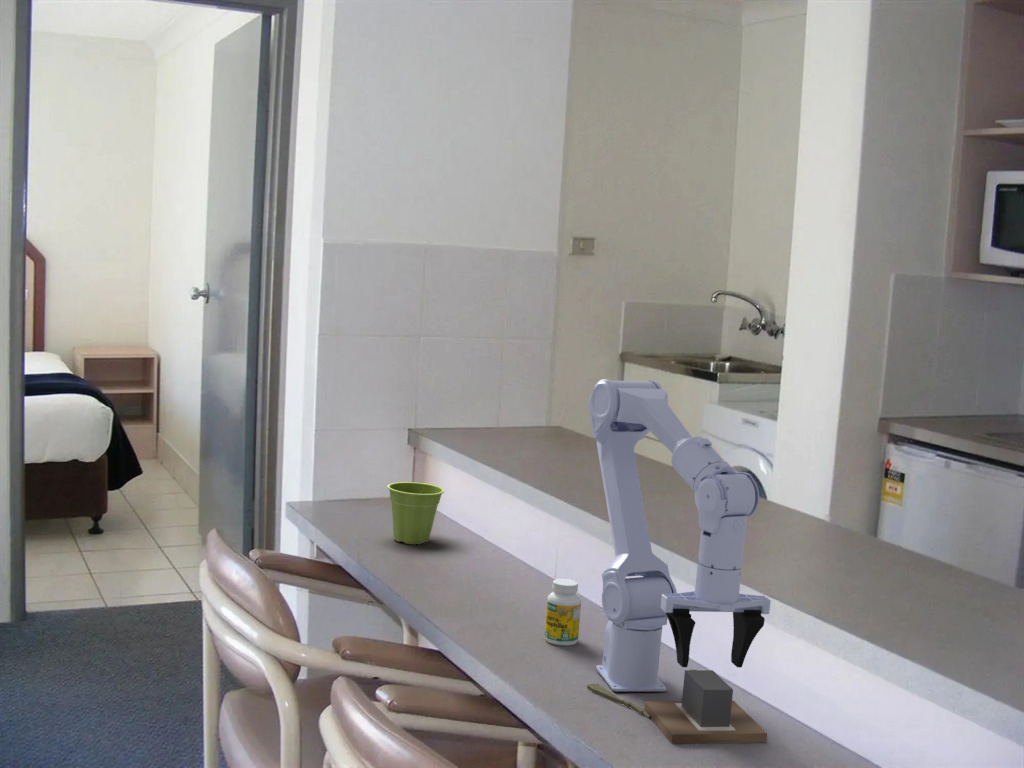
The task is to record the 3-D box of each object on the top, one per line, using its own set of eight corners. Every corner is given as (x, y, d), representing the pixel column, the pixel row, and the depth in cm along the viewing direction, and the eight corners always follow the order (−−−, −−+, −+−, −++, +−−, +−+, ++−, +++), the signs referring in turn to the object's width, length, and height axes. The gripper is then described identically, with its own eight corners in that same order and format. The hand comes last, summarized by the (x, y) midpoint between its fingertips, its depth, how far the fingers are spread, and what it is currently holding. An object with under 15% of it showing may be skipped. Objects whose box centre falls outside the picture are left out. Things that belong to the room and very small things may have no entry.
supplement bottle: (583, 640, 185) (588, 582, 184) (568, 649, 180) (573, 589, 179) (553, 633, 188) (558, 575, 187) (537, 641, 183) (542, 582, 182)
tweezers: (585, 690, 164) (585, 684, 164) (596, 688, 165) (596, 682, 165) (643, 722, 154) (644, 715, 154) (654, 720, 155) (655, 713, 155)
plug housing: (676, 700, 159) (679, 665, 158) (703, 700, 159) (707, 665, 159) (700, 727, 150) (704, 689, 149) (729, 726, 151) (733, 689, 150)
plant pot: (404, 550, 232) (408, 495, 231) (372, 536, 242) (376, 483, 240) (451, 544, 240) (455, 491, 239) (419, 531, 249) (423, 480, 248)
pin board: (643, 709, 158) (646, 682, 157) (733, 709, 161) (735, 682, 160) (671, 743, 147) (674, 714, 147) (766, 742, 150) (769, 714, 150)
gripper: (678, 571, 146) (667, 675, 148) (784, 574, 149) (773, 675, 151) (659, 556, 153) (649, 656, 154) (761, 559, 156) (751, 656, 158)
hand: (709, 664), depth 153 cm, fingers open, 7 cm apart
